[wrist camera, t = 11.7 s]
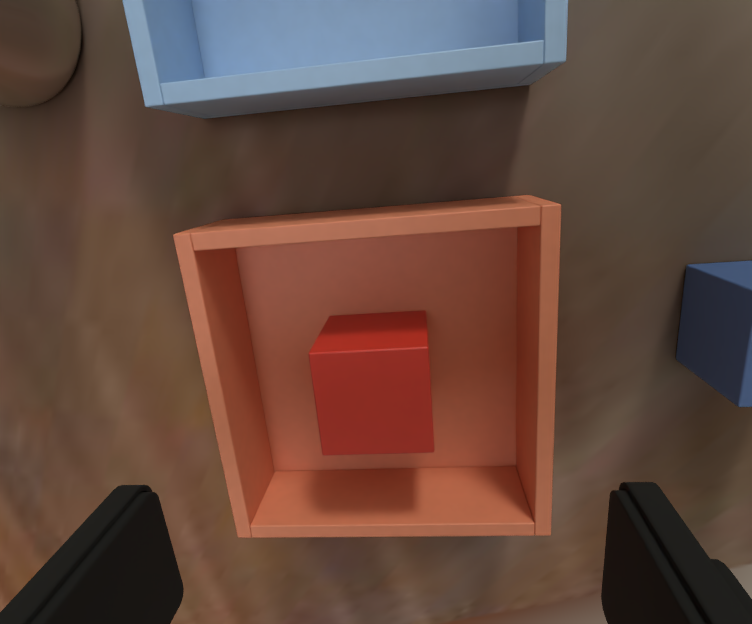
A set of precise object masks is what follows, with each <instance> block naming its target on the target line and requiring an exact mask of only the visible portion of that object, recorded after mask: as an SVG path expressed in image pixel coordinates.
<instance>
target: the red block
mask: <svg viewBox="0 0 752 624" xmlns="http://www.w3.org/2000/svg"><path fill="white" fill-rule="evenodd" d="M308 356H309V363H310V371H311V378H312V385H313V392H314V399H315V406H316V413H317V421H318V428H319V435H320V442H321V449H322V454H323V455H324V456H329V455H367V454H406V453H433V452H434V451H435V448H434V430H433V413H432V395H431V377H430V359H429V343H428V328H427V314H426V311H424V310H422V311H405V312H387V313H370V314H353V315H335V316H329V317H328V319H327V321H326V323H325V325H324V326H323V328H322V330H321V332H320V333H319V335H318V337H317V339H316V341H315V342H314V344H313V346H312V348H311V349H310V351H309V353H308Z"/></svg>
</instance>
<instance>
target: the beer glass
mask: <svg viewBox="0 0 752 624" xmlns="http://www.w3.org/2000/svg"><path fill="white" fill-rule="evenodd" d="M80 48H81V21H80V15H79V10H78V6H77V2H76V0H0V105H3V106H8V107H28V106H33V105H37V104H40V103H43V102H45V101H47V100H49V99H51V98H52V97H54V96H55V95H57V94H58V93H59V92H60V91H61V90H62V89H63V88H64V87H65V85H66V84H67V83H68V81H69V80H70V78H71V76H72V75H73V72H74V70H75V68H76V65H77V62H78V58H79V54H80Z"/></svg>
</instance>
